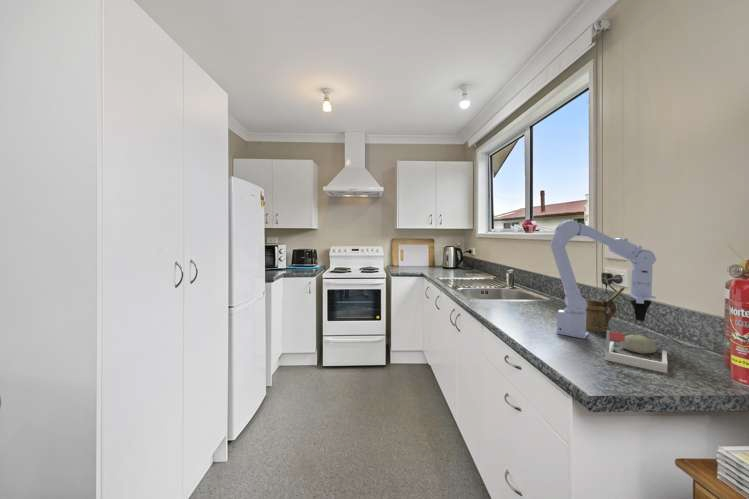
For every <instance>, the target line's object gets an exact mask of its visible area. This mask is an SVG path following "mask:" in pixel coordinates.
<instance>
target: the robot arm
mask: <svg viewBox="0 0 749 499" xmlns="http://www.w3.org/2000/svg"><path fill="white" fill-rule="evenodd" d="M574 237H587V238H589V239H592V240H594V241H597V242H598V243H599V244H603V245H605V246H607V247H608V249H609V252H611V253H613V254H615V255H617V256H619V257H622V258H624V259H625V260H627V261H630V262H631V273H630V274H631V276H630V277H631V278H630V279H631V280H630V294H629V297H630V298H632V299H630V300H629V301H630V304H631V306H632V307H633V312H634V315H635V316H634V317H635V321H641V322H645V319H646V315H647V312H648V309H649V307H650V306H651V304H652V301H651V299H654V300H656V299H657V295H653V294H652V293H653V291H652V290H653V265H654V264H655V262H656V261H657V257H656V256H655V254H654V252H653V251H651V250H649V249H644V248H643V246H642V245H640V244H638V245H637V244H634V243H632V242H631V241H629V239H628V238H626V237H623V238H622V237H617V238H613V237H611V236H609V235H607V234H605V233H603V232H601V231H600V230H597V229H596V228H594V227H592V226H589V225H587V224H584V223H582V222H577V221H576V220H571V219H569V220H565V221H562V222H561V223H559V224H558V226H557V227H556V228H555V230H554V233H553V235H552V238H551V241H550V243H549V245H550V249H551V252H552V255H553V257H554V258H553V259H554V261H555V265H556V268H557V271H558V274H559V276H560V280H561V284H562V287H563V290H564V291H563V292H564V295H565V296H564V303H565V308H564V309H558V311H557V314H556V316H557V317H556V334H557V335H563V336H568V337H574V338H579V339H584V340H585V339H587V336H588V335H589V332H587V330H586V311H585V310H586V309H587V300H586V299H585V298H584V297H583V295H582V293H581V291H580V288H579V286H578V283H577V280H576V277H575V273H574V271H573V267H572V265H571V264H572V263H571V262H570V258H569V255H568V252H567V249H566V246H567V244H569V242H570V240H572V239H573V238H574Z"/></svg>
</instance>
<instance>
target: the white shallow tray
mask: <svg viewBox="0 0 749 499" xmlns="http://www.w3.org/2000/svg"><path fill="white" fill-rule="evenodd" d="M625 336H626V334H625V333H624V332H616V331H610V330H608V331H607V332H606V337H605V338H606V341H605V342H606V343H605V352H604V353H605V355H604V356H605V357H604V360H605V361H607V362H613V363H617V364H622V365H627V366H631V367H635V368H641V369H646V370H650V371H655V372H659V373H664V374H668V351H666V350H662V351H661V361H656V360H651V359H647V358H642V357H637V356H633V355H632V356H631V355H628V354H623V353H617V352H614V349H615V342H614V341H617V342H621V341H623V342H625Z"/></svg>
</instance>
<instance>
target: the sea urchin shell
mask: <svg viewBox="0 0 749 499" xmlns="http://www.w3.org/2000/svg"><path fill="white" fill-rule="evenodd" d="M620 345H621V347H622V348H623V349H624V350H627V351H630V352H634V353H637V354H648V355H649V354H654V353H656V352H657V351H658V346H657V344H656V343H655V342H654V341H653V340H652V339H650V338H649V337H647V336H644V335H641V334H628V335H625V342H623V341H620Z"/></svg>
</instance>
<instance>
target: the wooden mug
mask: <svg viewBox="0 0 749 499" xmlns="http://www.w3.org/2000/svg"><path fill="white" fill-rule="evenodd" d="M624 290H625V287H622V288H621V287H620V288H619V289H618V290H617V291H616V292H615V293H614V294H613V295H612V296H611V297H610V298H609V300H604V301H599V300H586V302H587V309H586V310H585V311H586V331H591V332H597V333H607V331H610V327H609V324H610V323H609V322H610V320H611V319H612V318H613V317H614V316H615V315H616V313H617V312H616V311H617V305H616V303H615V302H614V300H616V298H617V297H619V295H621V293H622V292H623V291H624ZM608 308H609V309H610V311H609V312H608V313H607V310H608Z"/></svg>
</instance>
